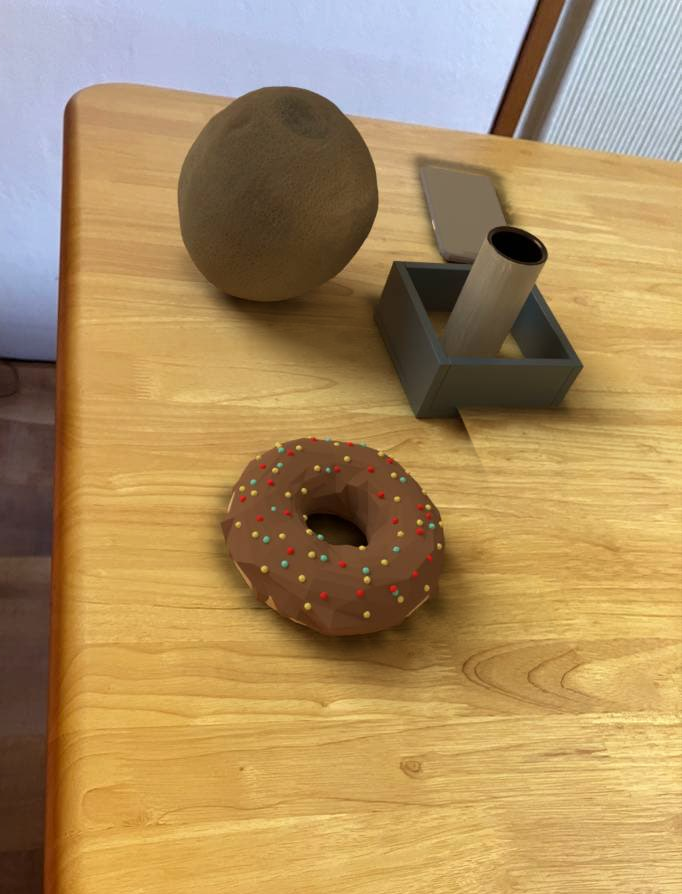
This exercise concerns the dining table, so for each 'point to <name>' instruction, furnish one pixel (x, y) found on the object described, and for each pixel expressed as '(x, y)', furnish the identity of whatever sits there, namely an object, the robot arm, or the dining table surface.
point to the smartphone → (460, 211)
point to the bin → (462, 378)
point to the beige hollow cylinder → (494, 293)
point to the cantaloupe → (276, 194)
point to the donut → (328, 566)
